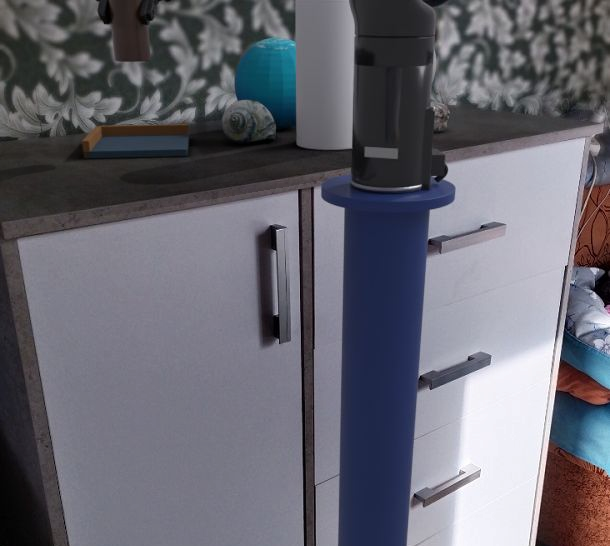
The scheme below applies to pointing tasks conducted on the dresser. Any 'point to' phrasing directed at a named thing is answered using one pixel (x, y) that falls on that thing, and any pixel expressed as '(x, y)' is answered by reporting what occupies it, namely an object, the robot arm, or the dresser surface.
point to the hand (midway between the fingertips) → (124, 19)
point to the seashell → (248, 122)
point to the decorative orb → (270, 79)
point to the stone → (440, 116)
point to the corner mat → (137, 141)
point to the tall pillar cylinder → (324, 74)
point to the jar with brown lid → (129, 31)
